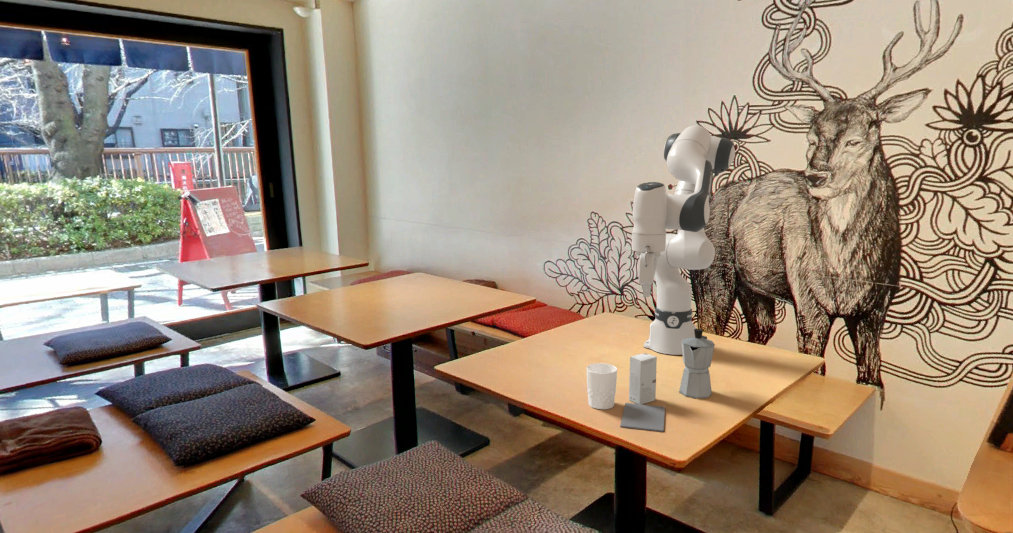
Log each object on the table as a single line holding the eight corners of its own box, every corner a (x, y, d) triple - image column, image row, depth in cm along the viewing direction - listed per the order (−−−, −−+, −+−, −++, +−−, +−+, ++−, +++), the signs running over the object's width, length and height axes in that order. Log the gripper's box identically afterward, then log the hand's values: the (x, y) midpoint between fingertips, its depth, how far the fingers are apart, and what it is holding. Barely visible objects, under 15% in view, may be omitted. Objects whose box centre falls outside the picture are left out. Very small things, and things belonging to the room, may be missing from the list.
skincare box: (640, 405, 153) (641, 361, 151) (627, 400, 157) (628, 356, 154) (656, 400, 156) (658, 356, 154) (644, 394, 160) (645, 352, 158)
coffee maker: (707, 403, 153) (711, 337, 150) (673, 397, 158) (676, 333, 155) (717, 385, 166) (721, 323, 163) (686, 379, 171) (688, 320, 167)
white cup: (622, 403, 154) (623, 367, 152) (605, 413, 148) (606, 375, 147) (596, 396, 159) (597, 361, 158) (580, 405, 154) (580, 368, 152)
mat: (625, 404, 154) (625, 402, 154) (664, 408, 151) (665, 406, 151) (620, 427, 141) (620, 425, 140) (663, 431, 138) (663, 430, 138)
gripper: (659, 249, 146) (657, 303, 149) (661, 239, 166) (660, 287, 168) (633, 249, 148) (632, 302, 150) (639, 238, 167) (637, 286, 170)
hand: (646, 294), depth 159 cm, fingers open, 4 cm apart
